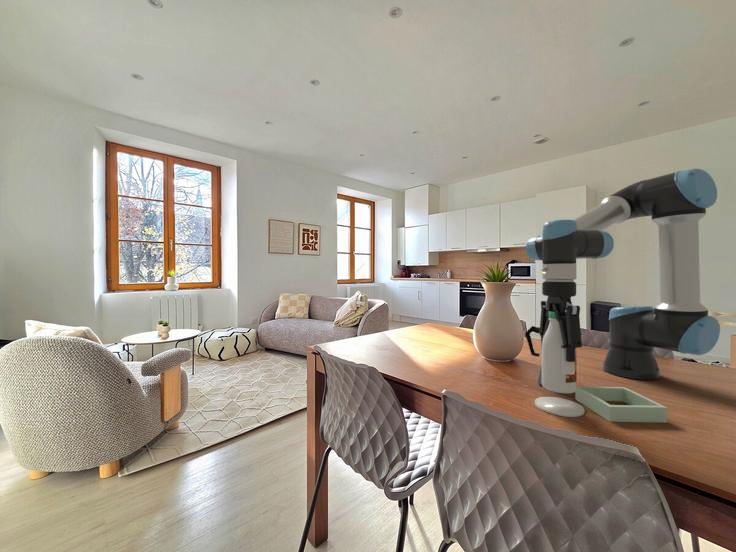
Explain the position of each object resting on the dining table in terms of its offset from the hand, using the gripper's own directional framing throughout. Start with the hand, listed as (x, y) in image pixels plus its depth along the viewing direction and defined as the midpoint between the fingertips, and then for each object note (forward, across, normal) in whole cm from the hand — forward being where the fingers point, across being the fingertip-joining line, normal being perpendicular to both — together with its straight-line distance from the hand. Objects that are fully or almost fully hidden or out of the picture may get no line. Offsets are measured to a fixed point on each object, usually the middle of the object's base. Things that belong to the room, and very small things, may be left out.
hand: (558, 368), depth 81 cm
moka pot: (+10, -16, +7) cm, 20 cm away
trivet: (+10, 0, 0) cm, 10 cm away
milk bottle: (+5, 0, 0) cm, 5 cm away
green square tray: (+10, +1, +14) cm, 17 cm away
